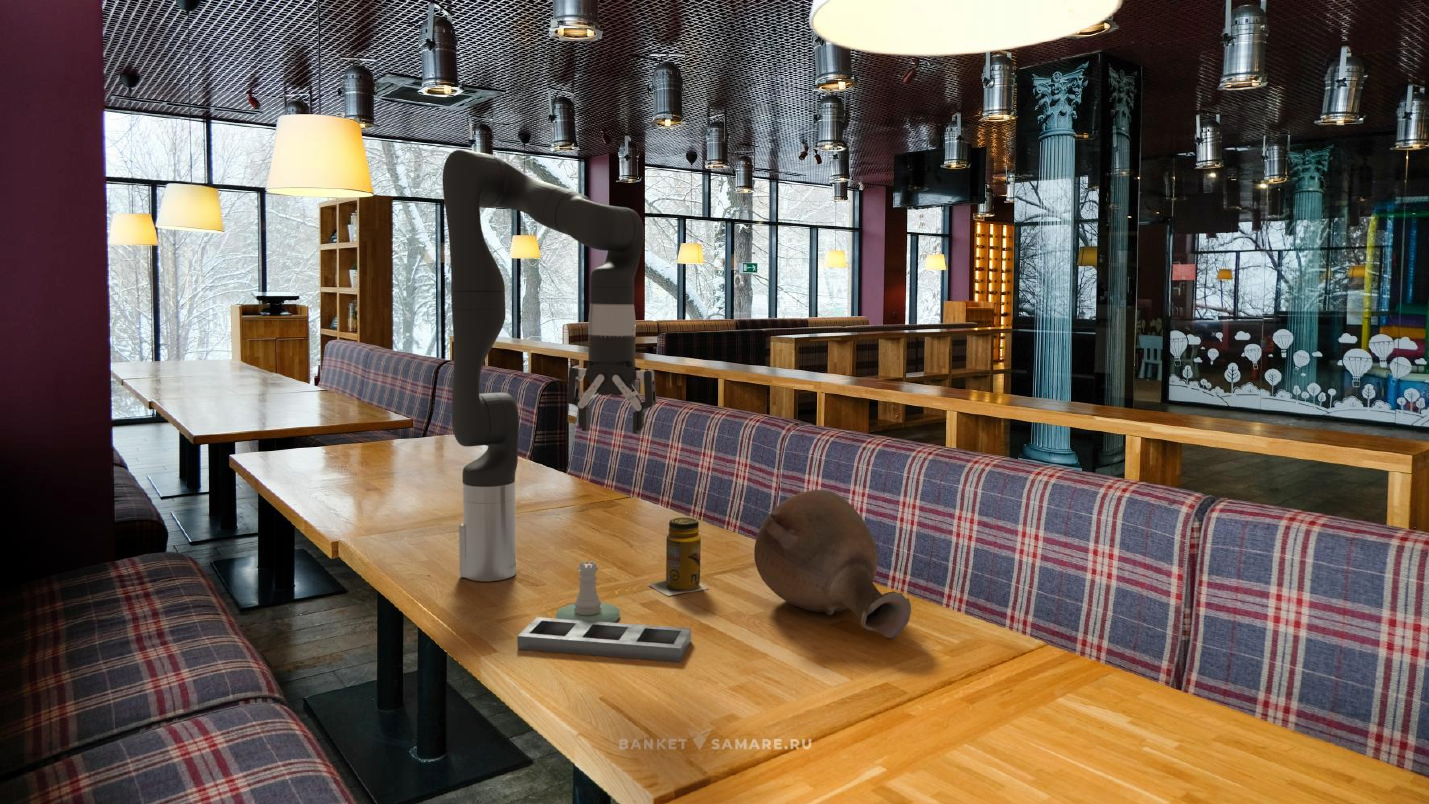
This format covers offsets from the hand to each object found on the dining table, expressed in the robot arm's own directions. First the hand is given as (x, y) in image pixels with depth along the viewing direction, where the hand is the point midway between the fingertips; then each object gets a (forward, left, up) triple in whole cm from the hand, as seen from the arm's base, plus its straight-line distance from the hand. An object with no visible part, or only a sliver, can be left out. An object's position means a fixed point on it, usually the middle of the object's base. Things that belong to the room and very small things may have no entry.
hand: (611, 432), depth 151 cm
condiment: (+9, +11, -29) cm, 33 cm away
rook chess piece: (-2, -7, -28) cm, 29 cm away
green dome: (-2, -7, -29) cm, 30 cm away
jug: (+37, +1, -29) cm, 47 cm away
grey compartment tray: (+4, -18, -29) cm, 34 cm away
